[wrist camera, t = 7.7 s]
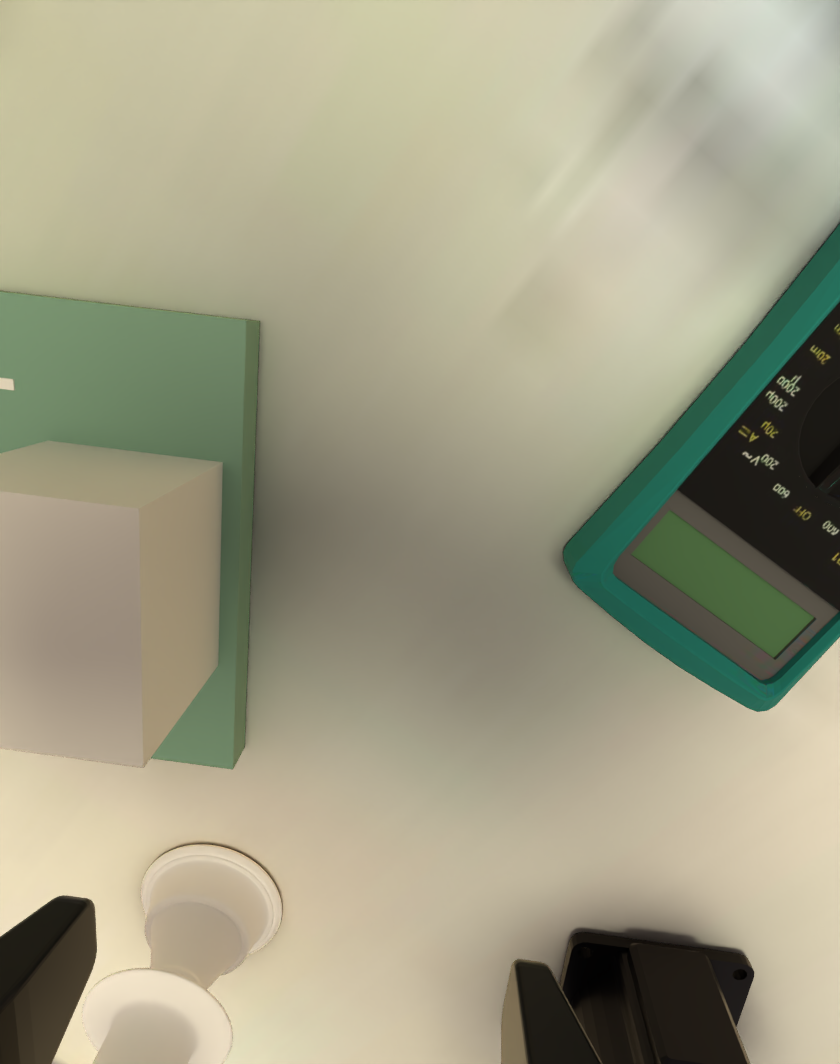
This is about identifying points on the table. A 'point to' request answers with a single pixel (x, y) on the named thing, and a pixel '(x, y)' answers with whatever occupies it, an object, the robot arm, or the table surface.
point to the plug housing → (105, 597)
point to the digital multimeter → (738, 511)
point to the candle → (184, 959)
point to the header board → (151, 443)
